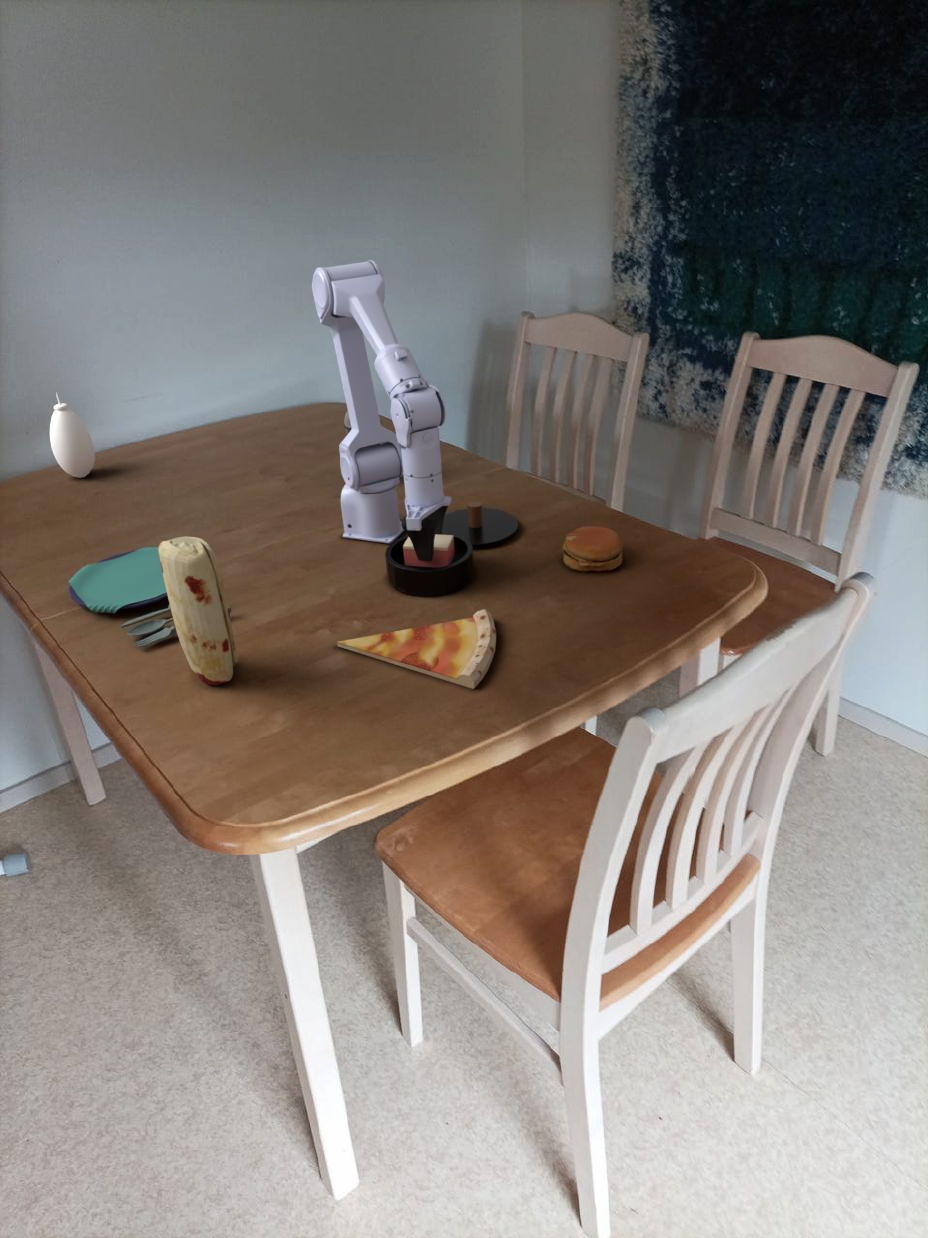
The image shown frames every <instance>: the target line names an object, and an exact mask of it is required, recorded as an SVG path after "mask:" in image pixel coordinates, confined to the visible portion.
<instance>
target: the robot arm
mask: <svg viewBox="0 0 928 1238" xmlns="http://www.w3.org/2000/svg"><path fill="white" fill-rule="evenodd" d="M311 289H312V290H311V291H312V296H313V300H314V305H315V309H316V314H317V317H318V319H319V320H318V321H319V323H320V325H323V326H326V327H329V330H330V333H331V338H332V341H333V346H334V350H335V357H336V359H337V360H336V361H337V365H338V370H339V375H340V379H341V384H342V388H343V395H344V398H345V403H346V408H347V411H348V413H349V418H350V423H351V428H352V429H351V431H350V432H349V433H348V435H347V434H346V436H345V437H344V438H343V439H342V440H341V442H340V444H339V445H338V447H339V448H338V451H339V459H340V460H339V467H340V468H339V469H340V472H341V473H340V474H341V476H342V479H343V480H344V483H345V484H344V486H342V489H341V492H340V509H341V516H342V523H343V524H342V525H343V533H342V537H343V538H345V539H353V540H354V539H355V540H361V541H367V542H374V543H383V544H391V543H392V542H394V541H396V540H397V539H398V537H399V536H400V535H402V533H403V532H405V533H406V535H408V536H409V538H410V540H411V542H412V544H413V547H414V550H415V553H416V555H417V558H418V560H419V561H431V560H432V557H433V552H434V539H435V534H437V535H441V534H442V527H443V521H444V517H445V515H446V513H447V510H448V508H449V506H450V505H451V503H452V497H451V496H449V495H447V496H446V495H445V493H444V492H445V491H444V484H443V470H442V454H441V439H440V427H442V426H443V425H444V424H445V422H446V405H445V401H444V399H443V395H442V394H441V391H440V389H439V388H438V387H436V386H435V385H433V384H432V383H431V381H430V380H425V378H424V376H423V374H422V372H421V370H420V368H419V366H418V364H417V362H416V360H415V358H414V356H413V354H412V352H411V350H410V348H408V347H407V346H405V345H402V344H399V341H398V338H397V337H396V334H395V331H394V329H393V326H392V324H391V321H390V318H389V315H388V313H387V311H386V309H385V308H386V307H385V306H384V303H385V297H386V296H385V295H386V284H385V277H384V274H383V271H382V269H381V267H380V266H379V264H378V263H377V262H376V261H375V260H373V259H369V260H366V261H362V262H354V263H348V264H341V265H334V266H328V267H327V266H326V267H323V266H321V267H320V266H319V267H317V268H316V269H315V271H314V272H313V275H312V282H311ZM365 338H366V340H367V342H368V343H369V345H370V346H371V348H372V350H373V351H374V353H375V355H376V357H375V360H374V364H373V366H374V371H376V373H377V376H378V378H379V380H380V382H381V384H382V386H383V388H384V390H385V393H386V394H387V396H388V399H389V400H390V402H391V404H390V409H389V411H390V417H391V420H392V424H393V426H394V430H395V432H394V431H392V430H390V429H388V428H387V427H384V426H383V425H382V423H381V422H382V421H381V422H380V420H381V417H379V416H380V413H379V408H378V403H377V398H376V393H375V388H374V382H373V378H372V373H371V372H372V371H371V368H370V363H369V358H368V353H367V347H366V342H365ZM378 443H380V445H376V446H372V447H368V448H364V449H359V448H362V447H366V446H370V445H374V444H378ZM358 449H359V450H358ZM402 477H403V483H404V494H405V497H404V506H405V510H406V511H405V512H406V516H404V517H403V518H402V519H401V518H400V509H399V499H398V489H397V485H400V483H401V482H400V481H401V479H400V478H402ZM400 519H401V520H400Z"/></svg>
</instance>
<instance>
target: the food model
mask: <svg viewBox="0 0 928 1238" xmlns="http://www.w3.org/2000/svg"><path fill="white" fill-rule="evenodd" d="M158 547H159V548H158V551H159V557H160V563H161V568H162V572H163V577H164V582H165V587H166V591H167V595H168V597H167V599H168V603H169V605H170V607H171V611H172V613H171V616H172V617H173V623H174V627H176V631H177V634H176V635H177V637H178V640H179V643H180V646H181V648H182V651H183V653H184V655H185V658H186V660H187V663H188V666H189V667H190V669H191V671H192V672H193V673H194V675H195V676H196V677H197V678H198V679H199V680H200V681H202V682H203V683H204V684H207V685H210V686H220V685H222V684H225V683H228V682H230V681H231V680H232V677H233V676H234V675H233V674H234V667H235V666H236V664H237V663H238V660H239V659H238V651H237V644H236V639H235V634H234V629H233V623H232V619H231V613H229V608H228V606H229V603H228V599H227V596H226V592H225V587H224V582H223V579H222V573H221V568H220V565H219V562H218V559H217V556H216V554H215V552H214V550H213V548H211V546H210V544H209V543H208V542H206V540H204V539H202V538H201V537H196V536H186V535H185V536H179V537H173V538H171V539H168V540H162V541H161V542H160V543H159V545H158Z"/></svg>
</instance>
